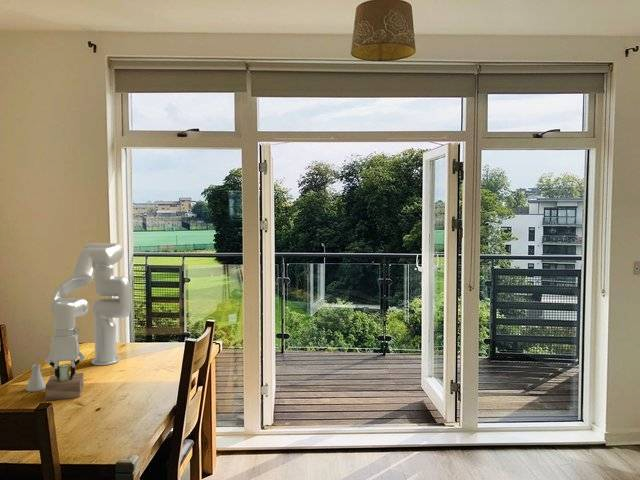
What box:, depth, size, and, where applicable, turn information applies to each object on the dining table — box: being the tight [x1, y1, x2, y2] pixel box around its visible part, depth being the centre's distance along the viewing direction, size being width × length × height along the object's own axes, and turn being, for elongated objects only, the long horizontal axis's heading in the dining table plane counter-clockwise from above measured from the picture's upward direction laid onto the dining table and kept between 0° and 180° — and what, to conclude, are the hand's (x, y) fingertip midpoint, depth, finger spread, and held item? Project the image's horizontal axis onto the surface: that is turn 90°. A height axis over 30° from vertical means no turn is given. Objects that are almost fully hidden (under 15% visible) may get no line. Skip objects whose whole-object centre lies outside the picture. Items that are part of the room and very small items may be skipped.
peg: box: [59, 364, 70, 381], centre depth 196 cm, size 3×3×10 cm
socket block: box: [45, 372, 84, 401], centre depth 197 cm, size 12×12×6 cm
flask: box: [25, 363, 47, 393], centre depth 201 cm, size 7×7×10 cm
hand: (65, 376), depth 197 cm, fingers open, 4 cm apart
